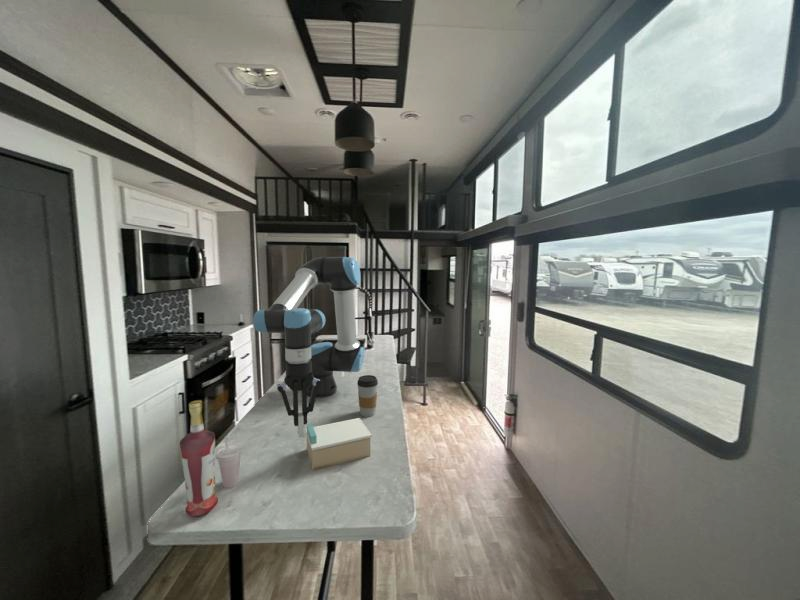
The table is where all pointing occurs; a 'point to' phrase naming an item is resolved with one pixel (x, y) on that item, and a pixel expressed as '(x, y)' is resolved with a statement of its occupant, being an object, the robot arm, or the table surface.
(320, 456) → the box
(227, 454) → the smoothie
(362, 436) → the lid
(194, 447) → the liquor
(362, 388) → the coffee cup
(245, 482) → the table surface
